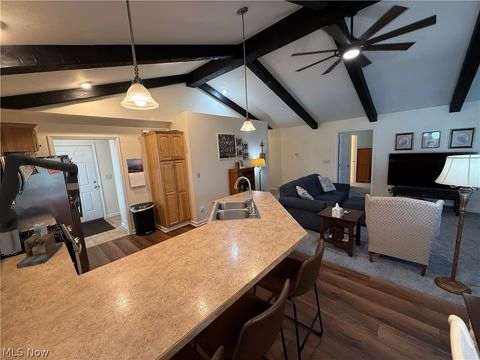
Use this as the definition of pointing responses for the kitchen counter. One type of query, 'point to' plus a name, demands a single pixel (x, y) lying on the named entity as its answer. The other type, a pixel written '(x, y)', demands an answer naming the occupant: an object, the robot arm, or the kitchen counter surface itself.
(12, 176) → the robot arm
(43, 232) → the syrup box
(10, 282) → the kitchen counter surface
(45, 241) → the tunnel
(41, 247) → the slider block
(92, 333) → the kitchen counter surface
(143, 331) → the kitchen counter surface
